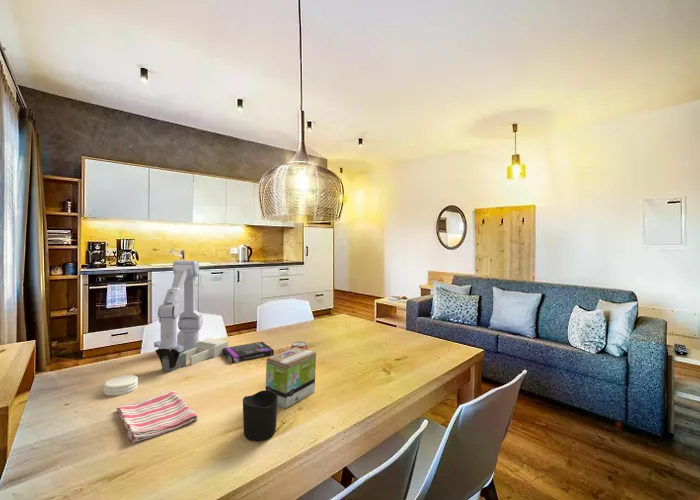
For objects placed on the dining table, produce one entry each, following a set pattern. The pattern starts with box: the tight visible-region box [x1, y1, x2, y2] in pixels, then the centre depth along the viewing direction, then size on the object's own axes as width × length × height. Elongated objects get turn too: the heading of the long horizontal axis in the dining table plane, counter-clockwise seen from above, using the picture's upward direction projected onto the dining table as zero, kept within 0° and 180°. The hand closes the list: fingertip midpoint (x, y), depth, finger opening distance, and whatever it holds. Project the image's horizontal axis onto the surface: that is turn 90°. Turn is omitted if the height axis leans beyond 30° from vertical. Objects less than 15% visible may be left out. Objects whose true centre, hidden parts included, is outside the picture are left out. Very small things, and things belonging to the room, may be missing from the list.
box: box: [222, 341, 275, 364], centre depth 154 cm, size 14×4×20 cm
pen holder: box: [242, 389, 278, 443], centre depth 93 cm, size 9×9×10 cm
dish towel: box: [116, 390, 198, 444], centre depth 100 cm, size 17×23×4 cm
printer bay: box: [181, 337, 229, 366], centre depth 150 cm, size 12×19×5 cm, turn 157°
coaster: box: [103, 374, 139, 397], centre depth 117 cm, size 10×10×4 cm
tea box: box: [265, 347, 317, 409], centre depth 114 cm, size 15×10×15 cm, turn 148°
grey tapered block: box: [161, 352, 187, 373], centre depth 137 cm, size 4×8×6 cm, turn 157°
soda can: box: [289, 341, 309, 350], centre depth 134 cm, size 7×7×12 cm
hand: (168, 366), depth 135 cm, fingers closed on grey tapered block, 4 cm apart
